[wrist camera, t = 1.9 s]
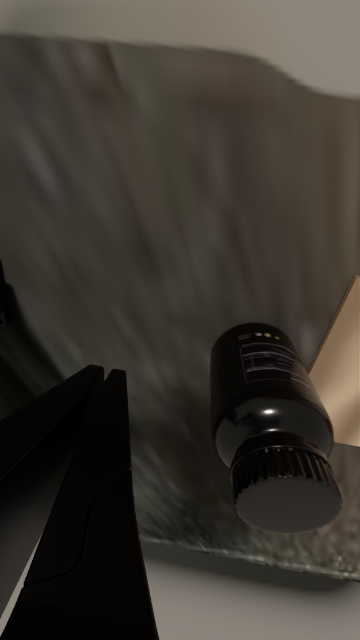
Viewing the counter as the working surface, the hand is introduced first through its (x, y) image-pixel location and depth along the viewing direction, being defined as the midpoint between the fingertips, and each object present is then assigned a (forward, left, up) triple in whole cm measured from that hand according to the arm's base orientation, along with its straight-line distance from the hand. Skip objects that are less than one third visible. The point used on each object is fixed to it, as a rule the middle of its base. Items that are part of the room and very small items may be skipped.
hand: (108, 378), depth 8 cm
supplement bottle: (+8, -7, -13) cm, 17 cm away
